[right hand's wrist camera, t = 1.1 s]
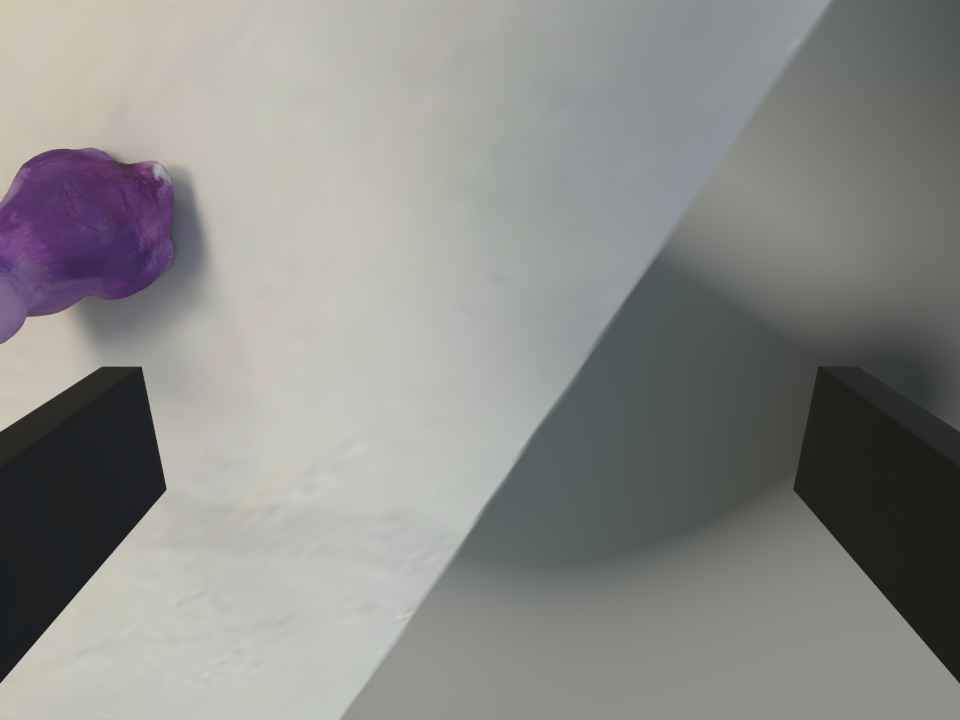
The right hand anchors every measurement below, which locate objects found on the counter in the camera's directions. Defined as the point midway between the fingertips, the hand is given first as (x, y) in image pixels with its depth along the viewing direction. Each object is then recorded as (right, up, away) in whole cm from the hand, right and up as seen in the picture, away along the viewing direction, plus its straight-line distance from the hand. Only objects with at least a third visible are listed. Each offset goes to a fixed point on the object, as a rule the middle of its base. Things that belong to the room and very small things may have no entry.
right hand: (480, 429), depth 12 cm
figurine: (-22, +9, +26) cm, 35 cm away
